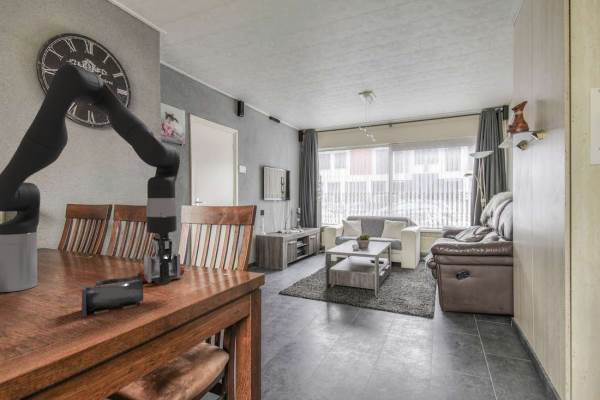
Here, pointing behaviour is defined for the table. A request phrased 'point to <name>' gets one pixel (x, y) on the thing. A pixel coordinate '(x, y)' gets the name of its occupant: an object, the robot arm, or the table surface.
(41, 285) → the table surface
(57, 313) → the table surface
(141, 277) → the valve
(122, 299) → the pipe stub
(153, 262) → the coupling
